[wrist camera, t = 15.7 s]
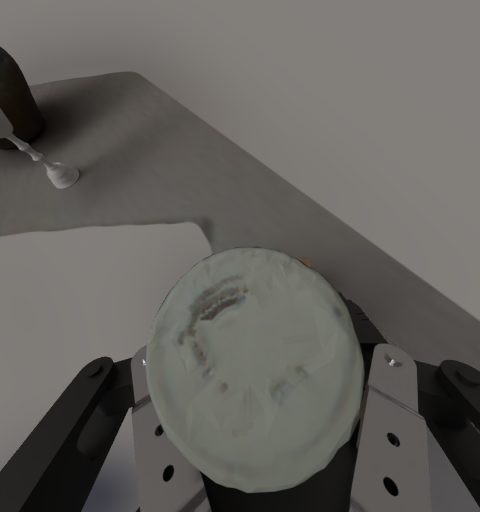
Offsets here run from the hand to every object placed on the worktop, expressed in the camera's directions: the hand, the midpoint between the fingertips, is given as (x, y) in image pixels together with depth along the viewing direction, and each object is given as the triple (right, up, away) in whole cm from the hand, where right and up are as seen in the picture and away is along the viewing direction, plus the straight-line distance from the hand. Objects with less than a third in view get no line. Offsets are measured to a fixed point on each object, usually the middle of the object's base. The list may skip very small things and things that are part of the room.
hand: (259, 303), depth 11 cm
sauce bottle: (+1, -5, +11) cm, 12 cm away
